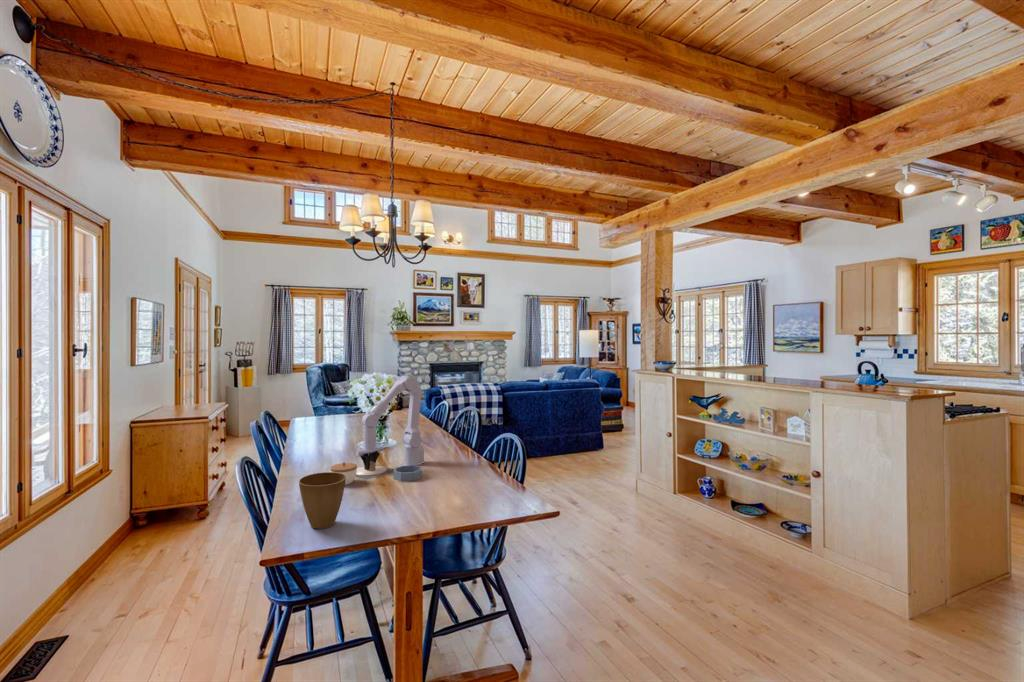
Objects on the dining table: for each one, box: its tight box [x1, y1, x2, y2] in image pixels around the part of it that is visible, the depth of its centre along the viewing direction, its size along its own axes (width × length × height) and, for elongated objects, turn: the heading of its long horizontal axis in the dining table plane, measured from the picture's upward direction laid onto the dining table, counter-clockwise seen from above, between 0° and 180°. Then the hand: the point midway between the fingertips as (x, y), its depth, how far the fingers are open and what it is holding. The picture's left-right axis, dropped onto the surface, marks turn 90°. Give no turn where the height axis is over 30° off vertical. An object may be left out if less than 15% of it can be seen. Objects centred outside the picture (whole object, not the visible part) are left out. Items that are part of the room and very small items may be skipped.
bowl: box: [393, 465, 423, 483], centre depth 218 cm, size 12×12×4 cm
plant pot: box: [298, 471, 346, 529], centre depth 164 cm, size 15×15×16 cm
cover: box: [356, 461, 386, 476], centre depth 226 cm, size 15×15×4 cm
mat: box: [355, 464, 394, 480], centre depth 226 cm, size 18×18×1 cm
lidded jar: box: [330, 461, 358, 486], centre depth 208 cm, size 11×11×9 cm
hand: (369, 468), depth 226 cm, fingers closed on cover, 2 cm apart
